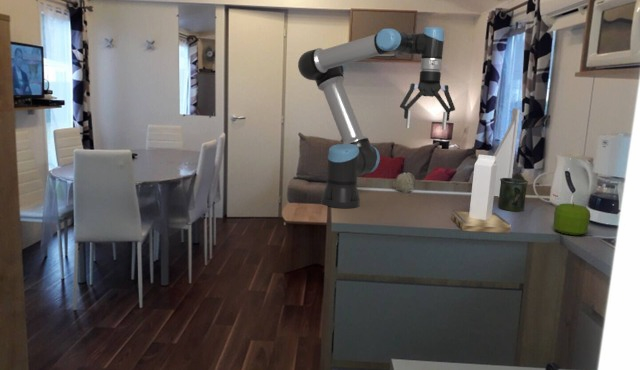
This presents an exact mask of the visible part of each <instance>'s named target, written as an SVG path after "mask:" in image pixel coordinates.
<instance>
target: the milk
mask: <svg viewBox="0 0 640 370" xmlns="http://www.w3.org/2000/svg"><path fill="white" fill-rule="evenodd" d="M495 158H496V157H495V156H494V155H489V154H488V155H487V154H480V153H479V154H478V156H477V159H476V161H475V163H474V167H473V177H472V185H471V186H472V187H471V195H470V205H469V212H470V213H469V218H475V219H480V220H485V221H486V220H488V219H490V218H491V217H492V213H493V208H494V207H493V205H494V199H495V197H494V190H495V181H496V172H497V163H496V161H495Z"/></svg>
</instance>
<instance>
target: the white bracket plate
mask: <svg viewBox="0 0 640 370" xmlns="http://www.w3.org/2000/svg"><path fill="white" fill-rule="evenodd" d="M520 112H521V109H519V108H512V112H511V120H510V123H509V126H508V127H507V130H506V131H505V133H504V135H503V137H502V139H501V141H500V143H499V145H498V147H497V148H496V150H495V151H494V154H493V156H495V157H496V158H495V161H496V163H497V172H496V181H495V190H494V196H498V197H497V198H499V193H500V185H501V181H500V179H501V178H513V174H514V173H513V172H514V171H513V170H514V163H515V157H516V156H515V155H516V154H515V153H516V146H517V137H518V130H519V120H520Z"/></svg>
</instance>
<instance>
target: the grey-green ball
mask: <svg viewBox="0 0 640 370" xmlns="http://www.w3.org/2000/svg"><path fill="white" fill-rule="evenodd" d="M393 184H394V186H395V189H396V191H398V192H401V193H409V192H411V191H413V190H414V189H415V188H414V187H415V185H416V178H415V176H414V174H412V173H410V172H402V173H399V174H398V175H397V177H396V178H395V180H394V181H393Z"/></svg>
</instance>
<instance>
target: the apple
mask: <svg viewBox="0 0 640 370" xmlns="http://www.w3.org/2000/svg"><path fill="white" fill-rule="evenodd" d="M553 215H554V216H553V228H554V229H555V230H556V231H557V232H559V233H560V232H561V233H560V234H563V233H564V234H563V235H568V234H569V236H570V235H571V236H580V235H583V234H586V233H587V232H588V227H589V225H590V221H591V212H590V210H589V209H588V208H587V207H586V206H584V205H579V204H574V202H572V203H560V204H559V205H557V206H556V207H555V210H554V214H553Z"/></svg>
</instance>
